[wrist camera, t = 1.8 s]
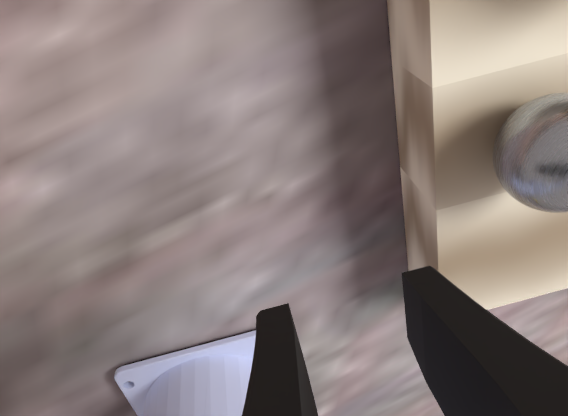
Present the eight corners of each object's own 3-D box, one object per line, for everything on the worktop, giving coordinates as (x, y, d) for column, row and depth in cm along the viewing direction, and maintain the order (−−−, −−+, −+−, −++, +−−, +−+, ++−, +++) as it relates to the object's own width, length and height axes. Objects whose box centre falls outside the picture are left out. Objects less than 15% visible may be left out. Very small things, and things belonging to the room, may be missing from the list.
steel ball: (567, 163, 16) (648, 217, 13) (470, 189, 16) (531, 249, 13) (581, 65, 14) (680, 102, 11) (472, 93, 14) (543, 138, 11)
